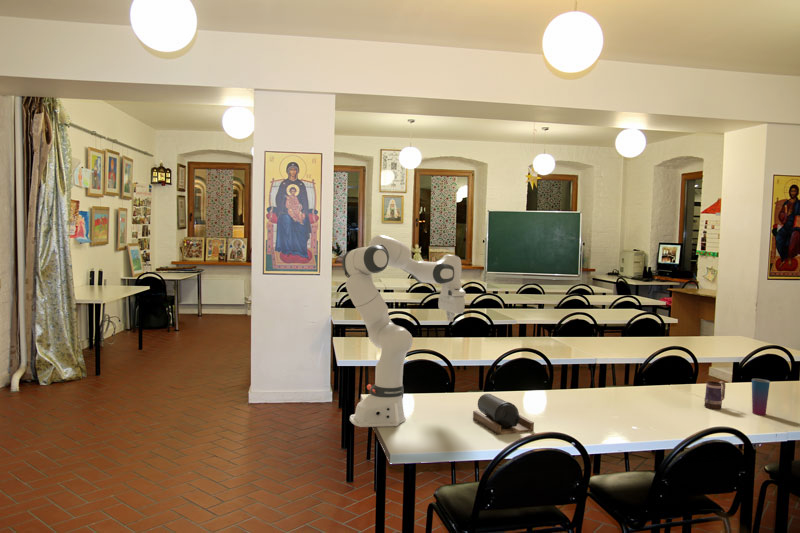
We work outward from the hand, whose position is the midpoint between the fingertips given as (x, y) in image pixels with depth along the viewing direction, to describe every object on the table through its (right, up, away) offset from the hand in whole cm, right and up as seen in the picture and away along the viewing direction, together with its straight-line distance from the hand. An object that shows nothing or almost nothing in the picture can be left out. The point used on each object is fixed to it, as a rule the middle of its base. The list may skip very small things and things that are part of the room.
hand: (450, 321), depth 257 cm
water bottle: (+14, -33, -17) cm, 40 cm away
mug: (+123, -41, +6) cm, 129 cm away
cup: (+138, -41, -2) cm, 144 cm away
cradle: (+18, -39, -29) cm, 52 cm away
